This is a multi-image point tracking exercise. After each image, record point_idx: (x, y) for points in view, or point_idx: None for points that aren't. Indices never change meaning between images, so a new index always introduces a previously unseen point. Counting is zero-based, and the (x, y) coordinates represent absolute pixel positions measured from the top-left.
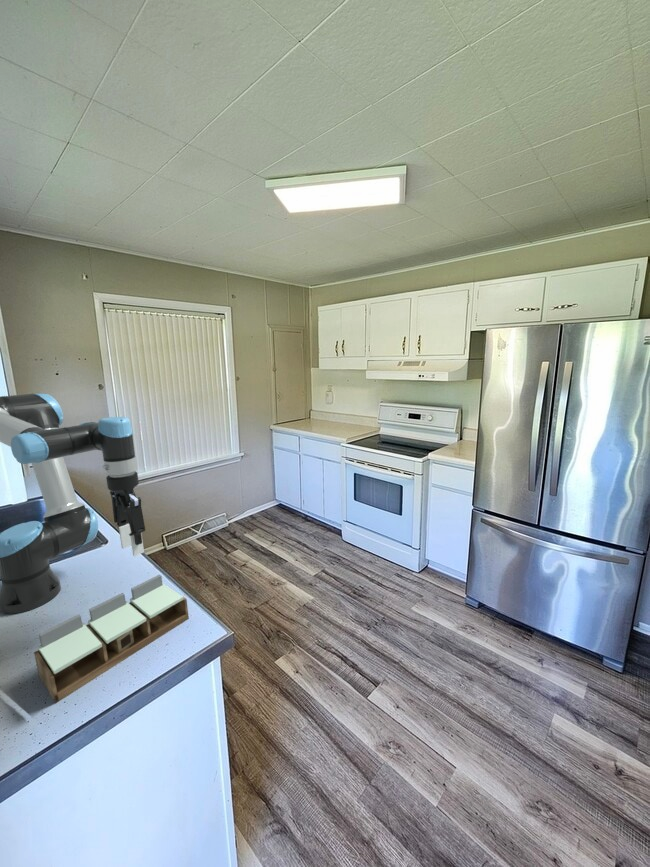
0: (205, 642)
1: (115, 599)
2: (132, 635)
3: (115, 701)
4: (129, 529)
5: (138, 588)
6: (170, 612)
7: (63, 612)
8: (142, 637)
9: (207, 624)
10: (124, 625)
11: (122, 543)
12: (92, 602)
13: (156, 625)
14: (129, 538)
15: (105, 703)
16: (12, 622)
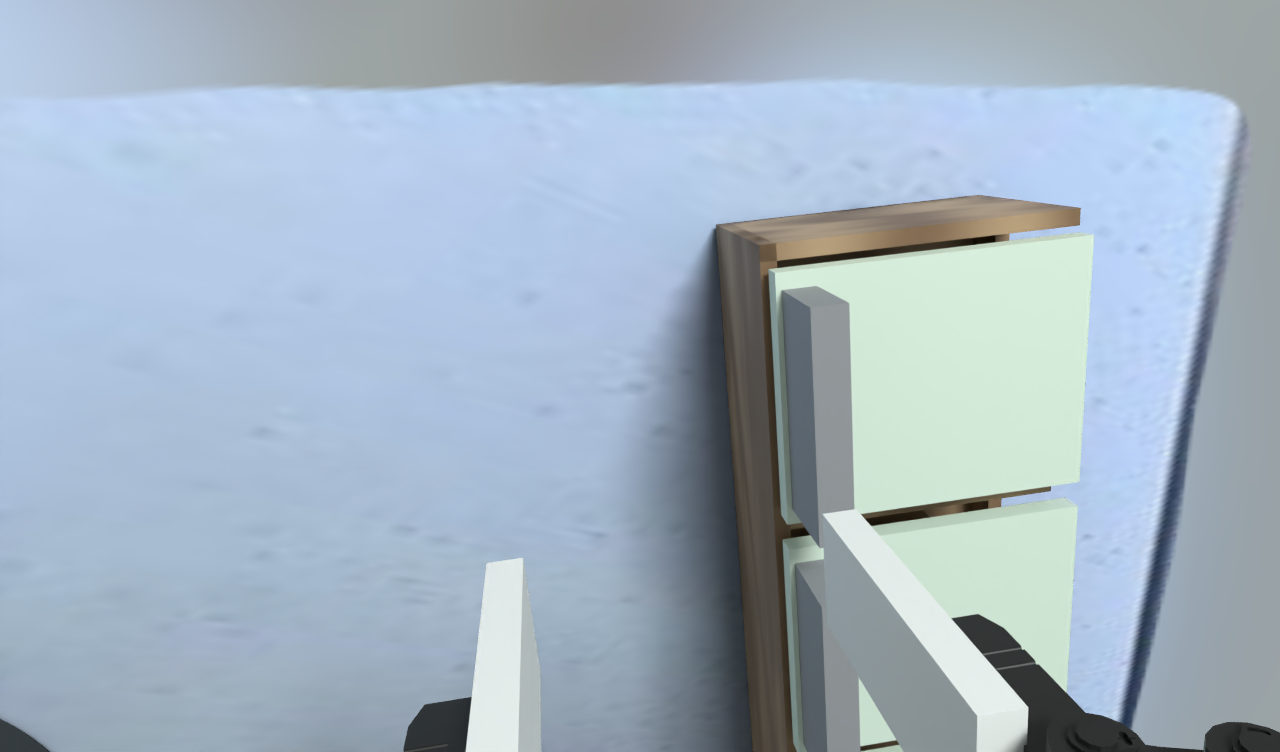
0: (1192, 208)
1: None
2: (927, 517)
3: (1128, 622)
4: (520, 732)
5: (850, 499)
6: (837, 254)
7: (270, 706)
8: None
9: (1089, 123)
10: (1028, 616)
11: (540, 715)
12: (282, 568)
13: None
14: (523, 645)
15: (1103, 651)
16: None
